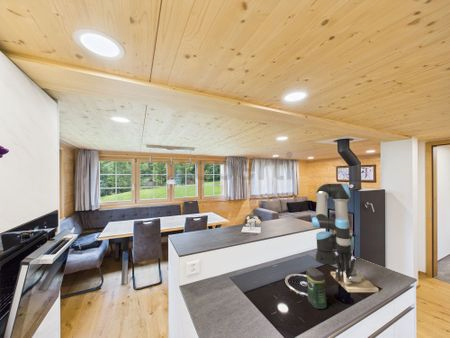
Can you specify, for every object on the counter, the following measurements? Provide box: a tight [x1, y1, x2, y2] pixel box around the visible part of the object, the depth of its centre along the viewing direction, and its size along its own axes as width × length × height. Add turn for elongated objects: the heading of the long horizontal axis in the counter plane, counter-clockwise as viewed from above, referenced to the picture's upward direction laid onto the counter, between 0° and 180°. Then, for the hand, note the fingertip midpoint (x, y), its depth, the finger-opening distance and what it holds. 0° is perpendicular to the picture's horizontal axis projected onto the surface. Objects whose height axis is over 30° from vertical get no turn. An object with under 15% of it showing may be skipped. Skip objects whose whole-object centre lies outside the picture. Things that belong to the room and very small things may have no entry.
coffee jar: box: [305, 266, 328, 310], centre depth 102 cm, size 10×8×19 cm
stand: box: [330, 271, 380, 293], centre depth 120 cm, size 20×18×2 cm
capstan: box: [334, 267, 362, 283], centre depth 119 cm, size 18×10×8 cm, turn 102°
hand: (346, 282), depth 113 cm, fingers closed
